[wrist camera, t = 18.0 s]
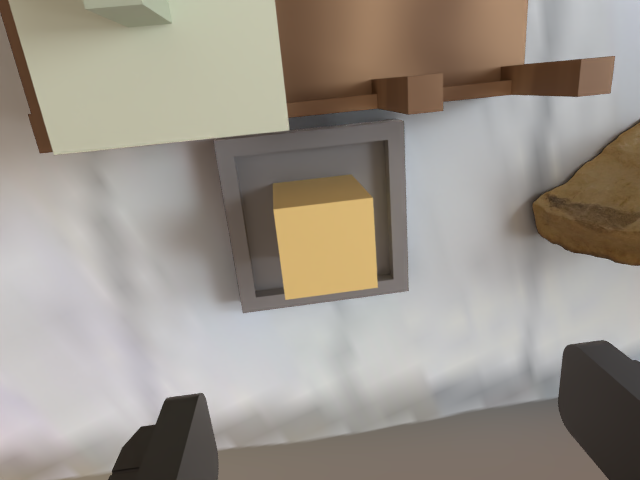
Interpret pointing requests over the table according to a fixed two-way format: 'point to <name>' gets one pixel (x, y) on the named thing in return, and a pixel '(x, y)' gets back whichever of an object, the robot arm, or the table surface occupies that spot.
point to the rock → (598, 205)
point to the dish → (301, 164)
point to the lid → (152, 70)
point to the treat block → (325, 236)
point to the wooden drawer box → (394, 57)
